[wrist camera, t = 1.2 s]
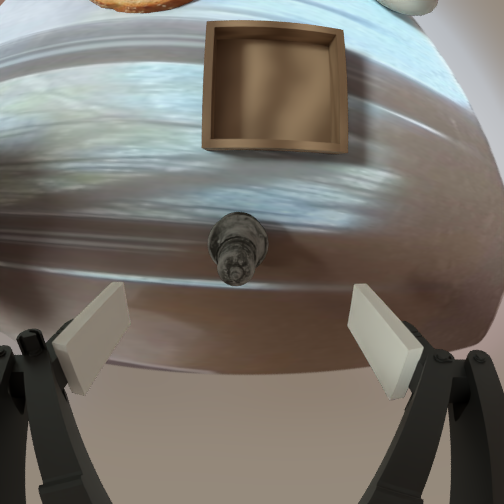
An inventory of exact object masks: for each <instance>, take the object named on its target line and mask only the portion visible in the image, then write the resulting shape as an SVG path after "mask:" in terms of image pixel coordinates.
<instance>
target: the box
mask: <svg viewBox="0 0 504 504" xmlns="http://www.w3.org/2000/svg"><path fill="white" fill-rule="evenodd" d="M202 148H203V149H205V150H207V151H212V150H266V151H293V152H311V153H325V154H343V153H348V95H347V72H346V56H345V44H344V33H343V30H341V29H335V28H329V27H323V26H316V25H308V24H300V23H290V22H277V21H254V20H229V21H207V25H206V40H205V57H204V77H203V105H202Z"/></svg>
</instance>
